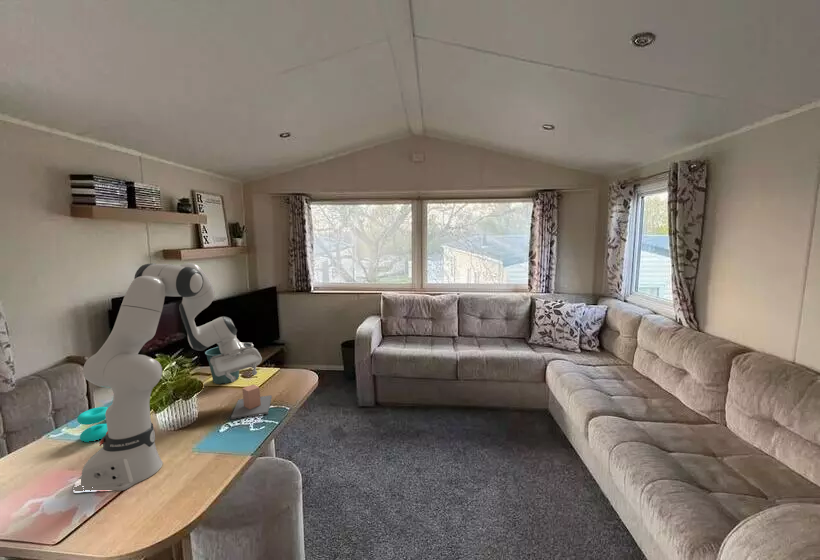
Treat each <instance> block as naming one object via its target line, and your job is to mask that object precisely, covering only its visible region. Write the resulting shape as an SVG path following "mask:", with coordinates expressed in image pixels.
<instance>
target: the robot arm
mask: <svg viewBox="0 0 820 560" xmlns="http://www.w3.org/2000/svg"><path fill="white" fill-rule="evenodd" d="M133 278H134V279H133V280H132V281H131V282H130V285H129V287H128V288H127V290H126V292H125V295H124V296H123V299H122V303H121V305H120V306H119V311H118V313H117V316H116V319H115V322H114V325H113V328H112V330H111V332H110V334H109V336H107V338H106V340H105V342H104V343H103V344H102V346H101V347H100V348H99V350H98V351H97V352H96V353H95V354H92V355H91V356H90V357H89V358H87V360H86V361H85V363H84V365H83V367H82V374H83V377H84V379H85V380H86V381H87V382H89V383H91V384H93V385H95V386H97V387H101V388H107V389H111V390H112V392H113V399H112V403H111V404H110V405H109V406H108V409H107V410H106V413H105V416H106V419H105V421H106V423H105V424H107V430H108V432H106V435H105V436H104V437H103V438H102V439H101V440H99V442H98V443H99V447H100V449H98V451H96V452H95V453H93V455H92V456H90V458H89V459H88V460H87V461H86V462H85V463H84V465H83V468H82V469H81V475H80V476H79V478H78V479H81V485H79V486H77V487H74V489H73V488H72V491H73V490H75V491H83V490H84V491H85V490H90V491H91V490H119V491H118V492H120V491H121V492H122V491H125V490H127V489H129V488H130V487H132V486H134V485H136V484H137V483H140V482H142V481H144V480H146V479H148V478H150V477H152V476H154V475H155V474H156V473H157V472H158V471H159V470H161V468H162V466H163V461H162V459H161V456H160V455H159V452H158V450H157V449H158V448H157V447H156V446H157V445H156V442H155V441H156V433H155V429H154V423H153V422H152V419H151V417H152V416H151V409H150V401H151V394H152V391H153V389H154V387H156V386H157V385H158V383H159V382H160V380H161V377H162V375H163V368H162V365H161V363H160V362H159V361H158V359H154V358H152V357H151V356H148V355H146V354H139V353H140V351H141V350H142V348H143V347H144V346H145V344H146V343H148V342H149V341H151V340H152V339H153V338H154V336H155V335H156V332H157V330H158V326H159V322H160V319H161V316H162V312H163V309H164V303H165V298H166V297H182V300H181V302H180V304H179V305H178V307H179V312H180V317H181V320H182V323H183V326H184V329H185V331H186V334H187V341H188V343H189V344H188V345H189V346H190V347H191V349H193V350H195V351H200V352H203V351H205V350H207V349H208V348H210V347H211V346H213V345H215V344H216V345H217V347H219V350H220V352H221V355H217V356H213V357H212V358H211V359H210V363H211V365H212V366H213V369H214V373H215V375H216V376H218V377H219V376H222V375H226V377H228V378H229V379H231V381H232V382H231V383H233V382H236V381H237V380H236V378H235V376H232V375H231V374H230V373H232V372H236V371H239V372H240V371H241V370H245V369H248V368H252V370H251V374H252V376H255V375H257V374H258V371H257V366H258V365H260V364H261V363H262V360H263V357H262V356H261V353H260V352H259V350H258V349H257V348H256V347H254V346H255V345H254V344H253V342H241V341H240V340H239V339H238V338H237V332H238V329H237V328H236V325H235V323H234V321H233V320H232V318H230V317H228V316H224V315H223V316H219V317H217V318H215V319H213V320H212V321H209V322H206V323H205V324H202V325H199V326H197V325H196V322H195V320H196V319H195V318H196V317H197V316H198V315H199V314H200V313H202V311H204V310H205V309H207V308H208V307H209V306H210V305H211V304H212V302H213V300H214V299H215V295H216V293H215V288H214V285H213V283H212V282H211V280H210V278H209V277H208V275H207V274H206V273H205V271H204V270H203V269H202V268H201V267H200V266H199V265H198V264H196V263H193V262H185V263H183V264H180V265H177V264H175V265H174V264H171V263H154V262H153V263H145V264H143V265H141V266H140V267H138V268H137V270H136V272H135V275H134V277H133ZM101 446H102V447H101ZM82 486H84V487H82ZM92 487H93V488H92ZM83 488H84V489H83Z"/></svg>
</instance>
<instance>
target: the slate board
mask: <svg viewBox="0 0 820 560" xmlns="http://www.w3.org/2000/svg"><path fill="white" fill-rule="evenodd" d="M272 398H273V397H272V395H262V396H260V402H261V405H260V406H257V407H254V408H252V409H248V408H246V407H245V406H244V402H243V398H240V399H238V400H237V402H236V404H235V407H234V409H233V411H232V413H231V416H230V419H231V420H237V419H236V418H238V419H242V418H241V417H245V418H248V417H247V416H252V417H254V416H253V415H259V414H266V415H269V412H268V411H270V406H271V402H272ZM259 416H260V415H259Z"/></svg>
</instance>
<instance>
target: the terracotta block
mask: <svg viewBox="0 0 820 560" xmlns="http://www.w3.org/2000/svg"><path fill="white" fill-rule="evenodd" d="M241 391H242V399H243V402H244V406H245V407H246V408H248V409H252V408H254V407H257V406H260V405H261V402H260V397H261V394H260V386H257V385H255V384H251V385H249V386H245V387H242V389H241Z"/></svg>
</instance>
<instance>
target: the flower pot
mask: <svg viewBox="0 0 820 560" xmlns="http://www.w3.org/2000/svg"><path fill="white" fill-rule="evenodd" d="M204 355H205V356H206V358H207V361H208V366H209V369H210V373H211V377H212V381H213V384H216V385H221V384H224V383H225V384H228V383H229V382H230V383H233V382H232V381H231V379H229V378H228V377H226V375H222V376H219V377H218V376H216V375H215V373H214V369H213V366H212V365H211V363H210V359H211V358H212V357H213V356H217V355H221V352H220V350H219V346H216V347H213V348H210V349H208V350H207V349H206V351H204ZM230 374H231V375H232V376H235V378H236V381H237V380H238V379H239V378H240V370H239V371H236V372H232V373H230ZM238 377H239V378H238ZM230 383H229V384H230Z"/></svg>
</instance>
